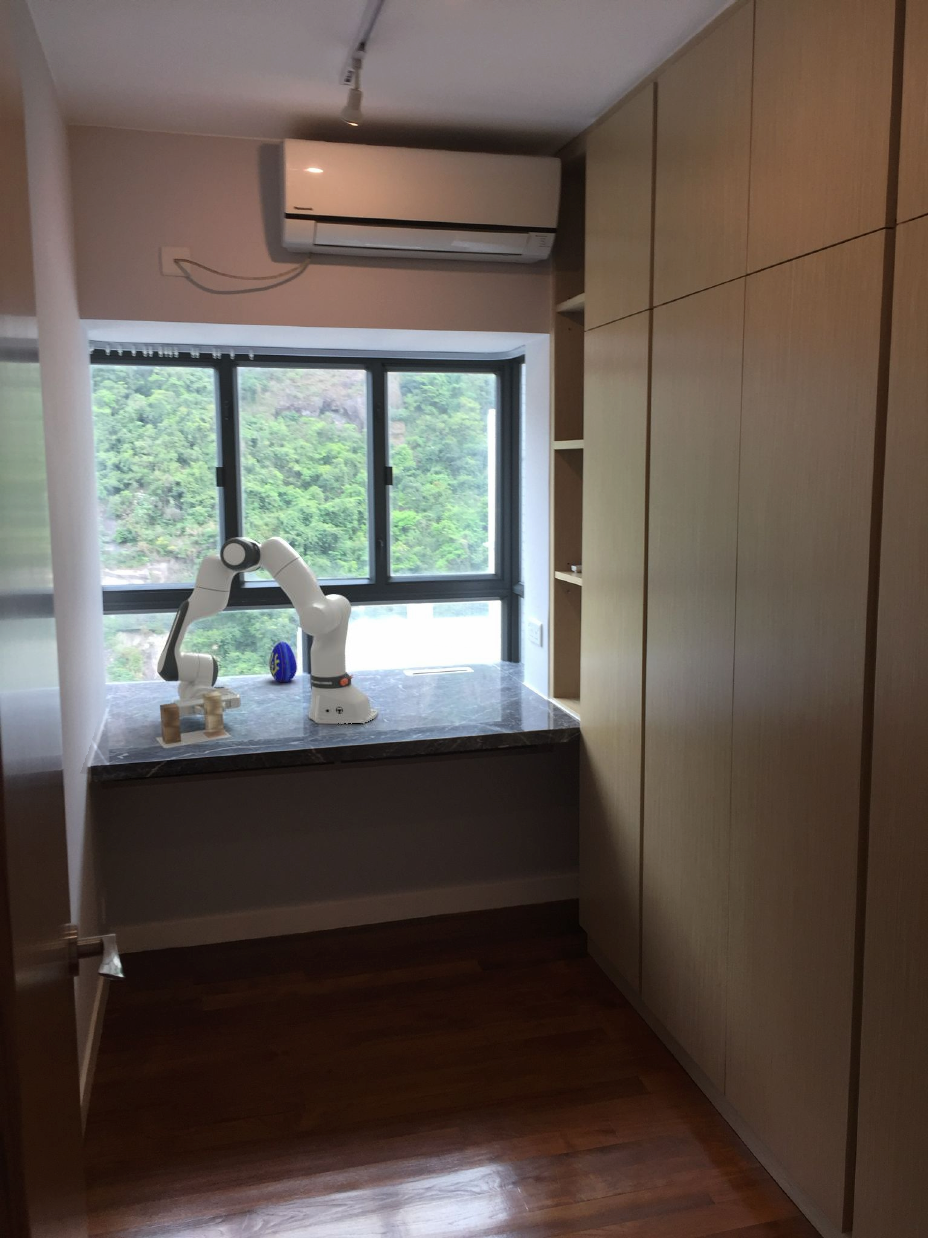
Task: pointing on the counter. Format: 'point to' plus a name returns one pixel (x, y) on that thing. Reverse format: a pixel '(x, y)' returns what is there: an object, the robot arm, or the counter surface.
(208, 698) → the birch pillar
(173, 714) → the walnut pillar
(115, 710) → the counter surface
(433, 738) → the counter surface
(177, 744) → the white mat
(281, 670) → the ornament
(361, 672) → the counter surface
